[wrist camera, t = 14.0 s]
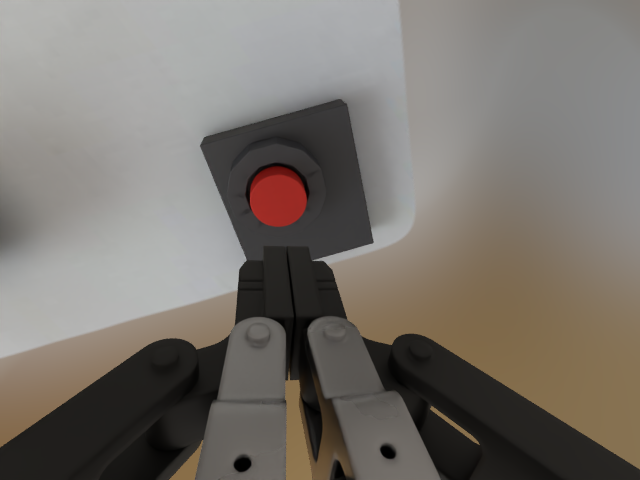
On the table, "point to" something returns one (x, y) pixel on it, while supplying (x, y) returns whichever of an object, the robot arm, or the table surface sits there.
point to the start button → (277, 196)
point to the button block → (310, 165)
